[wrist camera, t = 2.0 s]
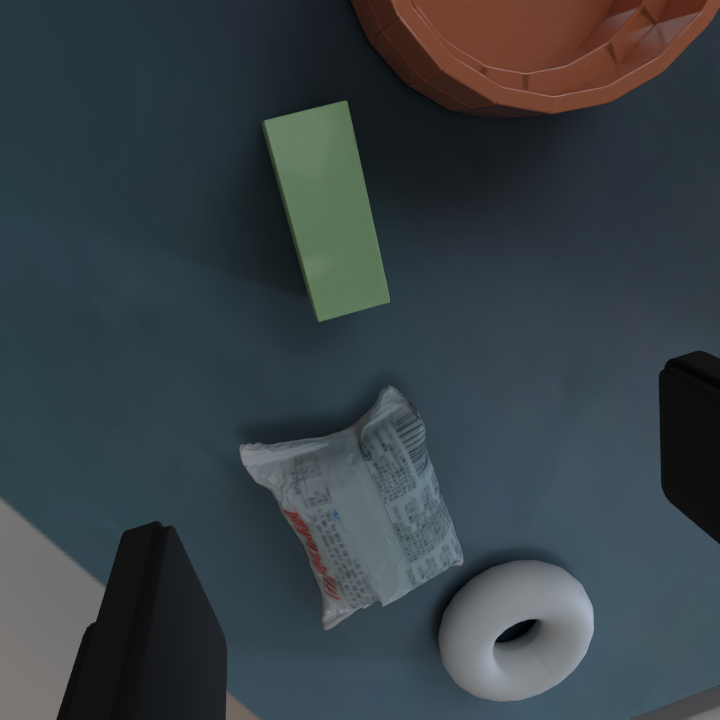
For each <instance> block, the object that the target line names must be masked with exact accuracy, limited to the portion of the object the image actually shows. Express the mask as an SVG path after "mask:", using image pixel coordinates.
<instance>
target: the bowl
mask: <svg viewBox="0 0 720 720" xmlns="http://www.w3.org/2000/svg"><path fill="white" fill-rule="evenodd" d="M350 1H351V3H352V5H353V7H354V10H355V12H356V14H357V16H358V18H359V21H360V23H361V25H362V27H363V30H364V32H365V34H366V36H367V39H368V40H369V41H370V43H371V44H372V46H373V47H374V48H375V49H376V50H377V51H378V52H379V54H380V55H381V56H382V57H383V58H384V59H385V61H386V62H387V63H388V64H389V65H390V66H391V68H392V69H393V70H394V71H395V72H396V73H397V74H398V76H399V77H400V78H401V79H402V80H403V81H404V83H406V84H407V86H409V87H411V88H412V89H414V90H416V91H418V92H419V93H421V94H423V95H424V96H426V97H428V98H430V99H431V100H433V101H435V102H436V103H438V104H440V105H442V106H443V107H445V108H447V109H448V110H452V111H454V112H460V113H466V114H472V115H478V116H484V117H489V118H495V119H504V118H515V117H526V116H537V115H548V114H556V113H562V112H567V111H572V110H577V109H582V108H587V107H592V106H597V105H603V104H608V103H610V102H612V101H614V100H616V99H618V98H619V97H621V96H623V95H625V94H626V93H628V92H630V91H631V90H633V89H635V88H637V87H638V86H640V85H642V84H644V83H645V82H647V81H649V80H651V79H652V78H654V77H656V76H657V75H659V74H661V73H662V72H663V71H664V70H666V68H667V67H668V66H669V65H670V64H671V63H672V62H673V61H674V60H675V59H676V58H677V57H678V56H679V55H680V54H681V53H682V52H683V51H684V50H685V49H686V48H687V47H688V46H689V45H690V43H691V42H692V41H693V40H694V39H695V38H696V37H697V36H698V35H699V34H700V33H701V32H702V31H703V30H704V29H705V28H706V27H707V26H708V25H709V23H710V22H711V21H712V19H713V18H714V16H715V14H716V12H717V11H718V9H719V7H720V0H350Z"/></svg>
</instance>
